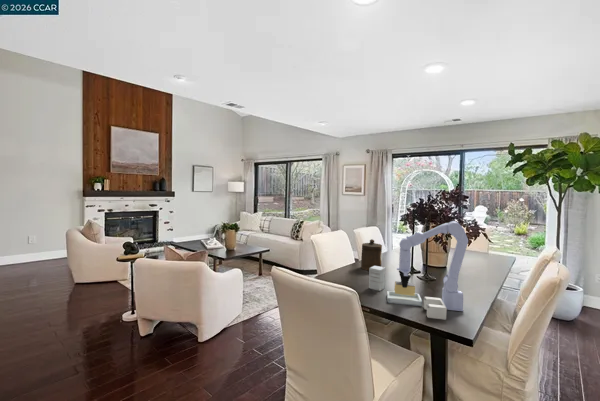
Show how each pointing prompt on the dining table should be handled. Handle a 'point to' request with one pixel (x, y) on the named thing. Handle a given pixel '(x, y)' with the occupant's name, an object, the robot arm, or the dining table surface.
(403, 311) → the dining table surface
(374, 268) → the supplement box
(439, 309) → the bay
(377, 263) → the wooden container
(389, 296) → the tray
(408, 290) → the yellow rectangular block
